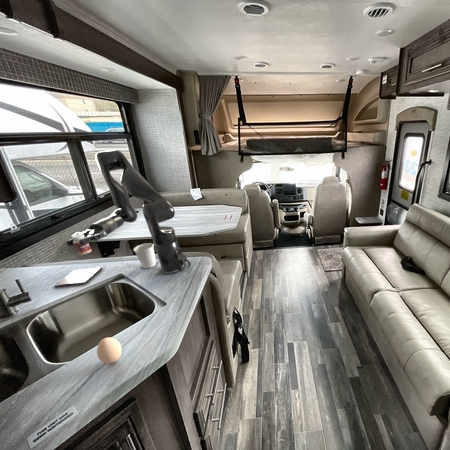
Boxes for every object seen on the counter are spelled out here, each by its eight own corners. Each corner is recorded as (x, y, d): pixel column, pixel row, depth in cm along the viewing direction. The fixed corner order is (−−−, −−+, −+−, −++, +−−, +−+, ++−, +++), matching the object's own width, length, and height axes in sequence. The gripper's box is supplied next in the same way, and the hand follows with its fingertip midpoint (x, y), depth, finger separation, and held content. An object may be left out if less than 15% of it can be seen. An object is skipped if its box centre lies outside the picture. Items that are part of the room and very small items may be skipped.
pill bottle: (84, 255, 105) (76, 238, 102) (75, 254, 106) (67, 237, 103) (94, 250, 110) (87, 233, 106) (86, 249, 111) (78, 233, 107)
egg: (114, 351, 73) (105, 330, 69) (129, 353, 72) (120, 333, 68) (98, 367, 68) (87, 346, 65) (113, 370, 67) (103, 348, 64)
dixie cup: (161, 259, 123) (156, 242, 119) (154, 268, 115) (149, 250, 111) (144, 261, 122) (138, 244, 118) (136, 270, 114) (129, 252, 110)
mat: (102, 269, 117) (101, 267, 116) (85, 283, 106) (84, 282, 105) (74, 272, 115) (73, 270, 115) (55, 287, 104) (54, 285, 104)
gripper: (86, 221, 117) (54, 236, 102) (115, 219, 117) (87, 235, 102) (92, 234, 120) (61, 251, 105) (120, 233, 120) (94, 250, 105)
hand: (74, 243), depth 103 cm, fingers closed on pill bottle, 4 cm apart
